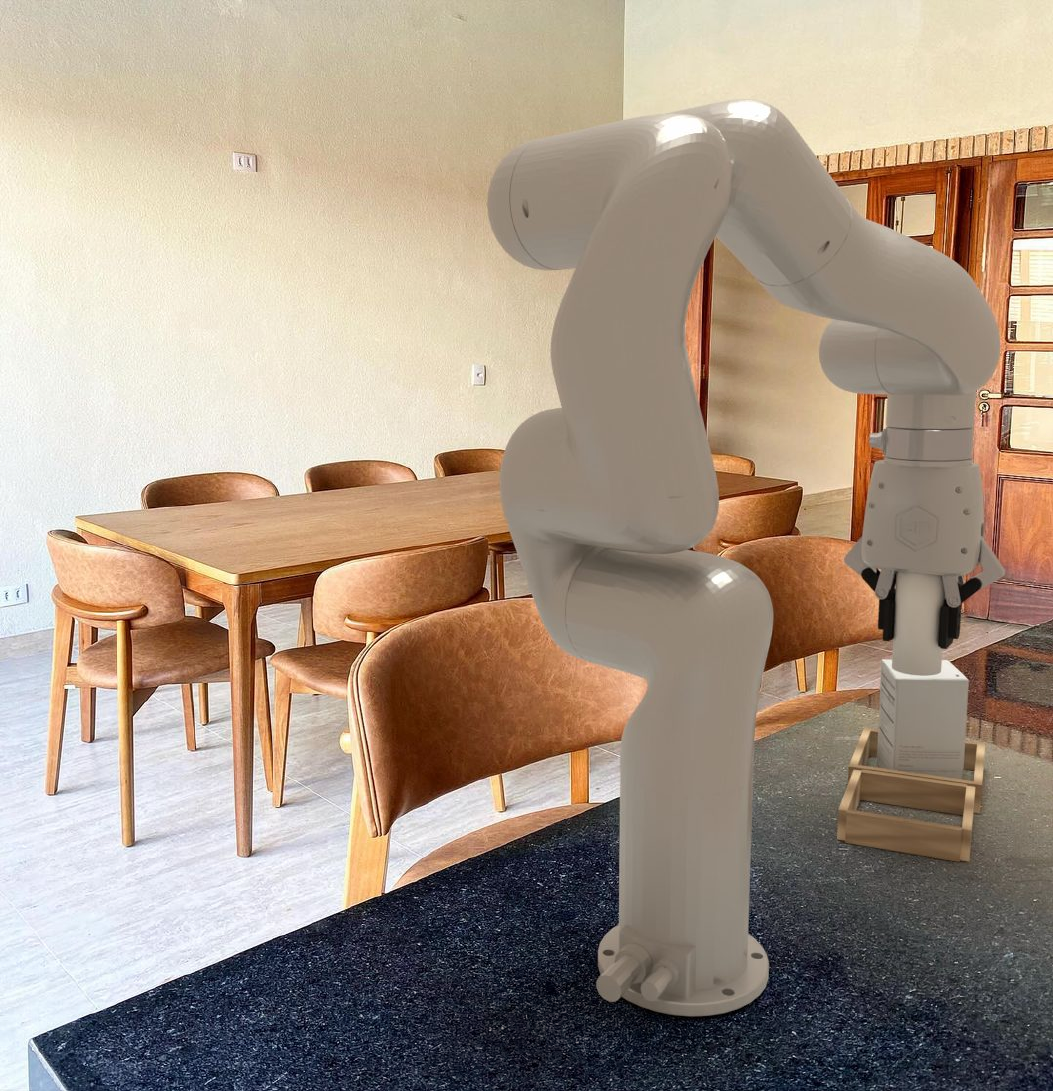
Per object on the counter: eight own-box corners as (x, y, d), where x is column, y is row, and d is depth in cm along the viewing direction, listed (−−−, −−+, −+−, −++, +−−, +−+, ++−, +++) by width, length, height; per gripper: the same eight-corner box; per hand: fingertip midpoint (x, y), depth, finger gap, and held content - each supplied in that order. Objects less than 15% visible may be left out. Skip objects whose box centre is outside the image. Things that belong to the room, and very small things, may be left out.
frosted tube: (936, 678, 99) (943, 549, 97) (885, 671, 102) (891, 545, 99) (947, 666, 103) (954, 542, 101) (897, 659, 105) (904, 537, 103)
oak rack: (976, 864, 97) (978, 833, 97) (829, 840, 102) (831, 810, 102) (983, 769, 119) (985, 743, 119) (862, 752, 124) (864, 727, 124)
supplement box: (943, 769, 119) (950, 658, 117) (963, 796, 112) (971, 678, 110) (874, 767, 120) (880, 657, 118) (889, 794, 113) (896, 677, 111)
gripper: (823, 447, 100) (816, 639, 103) (1022, 455, 91) (1007, 664, 94) (848, 441, 106) (840, 622, 109) (1035, 447, 97) (1021, 644, 100)
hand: (917, 639), depth 102 cm, fingers closed on frosted tube, 4 cm apart
